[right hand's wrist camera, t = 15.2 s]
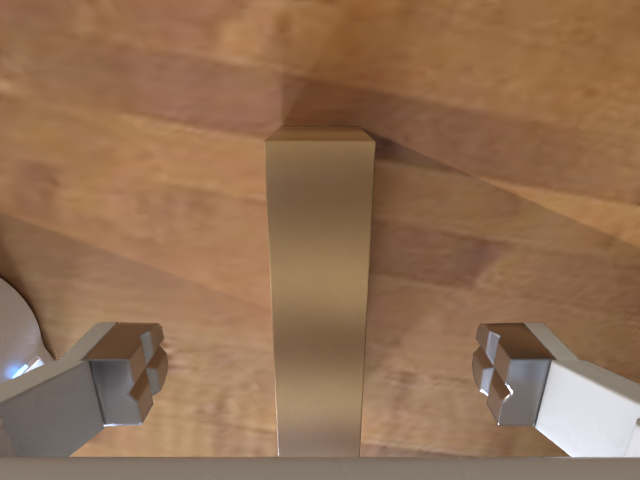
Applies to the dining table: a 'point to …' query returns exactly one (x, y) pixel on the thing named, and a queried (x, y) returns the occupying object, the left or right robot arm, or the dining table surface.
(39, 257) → the dining table surface
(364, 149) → the box
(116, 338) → the right robot arm
